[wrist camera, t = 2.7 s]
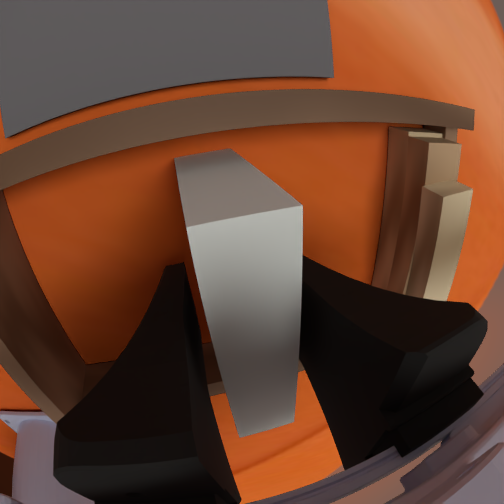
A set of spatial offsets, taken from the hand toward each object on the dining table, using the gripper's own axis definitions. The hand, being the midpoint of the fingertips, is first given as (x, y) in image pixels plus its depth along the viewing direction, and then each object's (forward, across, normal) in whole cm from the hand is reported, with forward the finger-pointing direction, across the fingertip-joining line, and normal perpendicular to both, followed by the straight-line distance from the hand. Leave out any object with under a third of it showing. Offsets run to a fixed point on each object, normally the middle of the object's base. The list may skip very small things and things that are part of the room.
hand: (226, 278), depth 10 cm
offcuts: (+2, -9, 0) cm, 9 cm away
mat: (+2, +1, -11) cm, 11 cm away
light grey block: (+2, 0, 0) cm, 2 cm away
